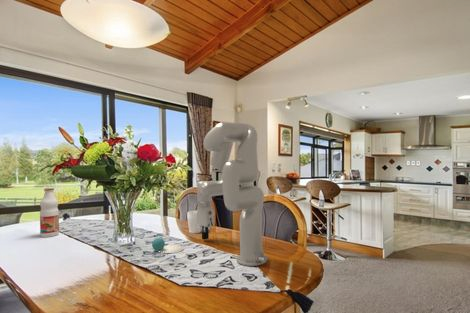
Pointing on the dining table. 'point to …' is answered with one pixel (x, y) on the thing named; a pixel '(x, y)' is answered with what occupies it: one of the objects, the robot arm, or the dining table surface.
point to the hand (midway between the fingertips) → (205, 238)
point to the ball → (158, 244)
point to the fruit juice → (49, 214)
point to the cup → (193, 222)
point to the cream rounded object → (172, 249)
